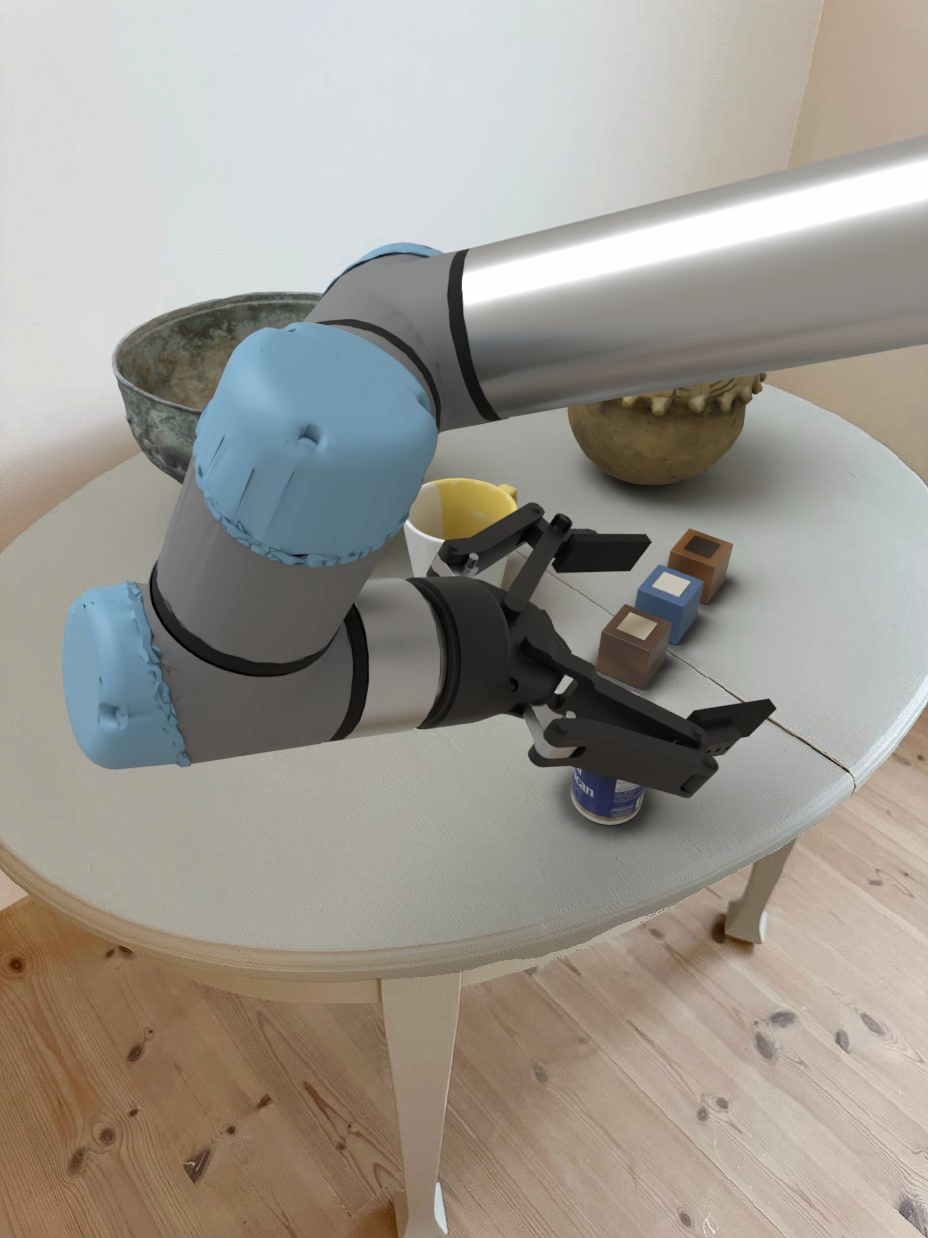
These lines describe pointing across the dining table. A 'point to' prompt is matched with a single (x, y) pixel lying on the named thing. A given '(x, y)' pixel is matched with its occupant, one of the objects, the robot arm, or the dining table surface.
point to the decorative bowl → (190, 366)
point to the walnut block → (633, 646)
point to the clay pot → (664, 429)
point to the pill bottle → (605, 797)
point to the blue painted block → (671, 599)
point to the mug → (456, 519)
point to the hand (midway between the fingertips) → (695, 630)
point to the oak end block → (702, 560)
